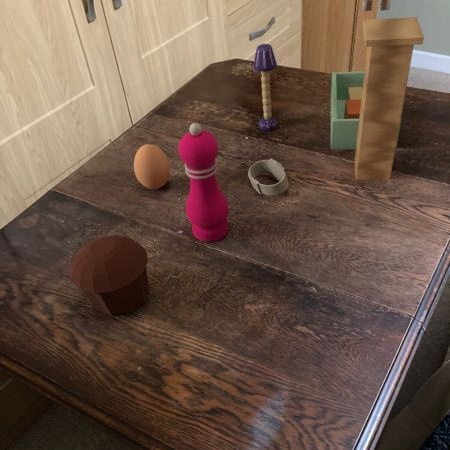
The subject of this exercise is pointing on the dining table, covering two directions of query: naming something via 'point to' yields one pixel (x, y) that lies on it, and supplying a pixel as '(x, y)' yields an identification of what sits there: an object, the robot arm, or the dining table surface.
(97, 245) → the muffin
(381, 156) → the stand
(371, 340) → the dining table surface
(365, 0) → the robot arm
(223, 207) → the pepper mill
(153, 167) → the egg
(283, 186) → the grey band loop
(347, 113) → the mallet
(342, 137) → the bin
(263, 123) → the toy lamp
